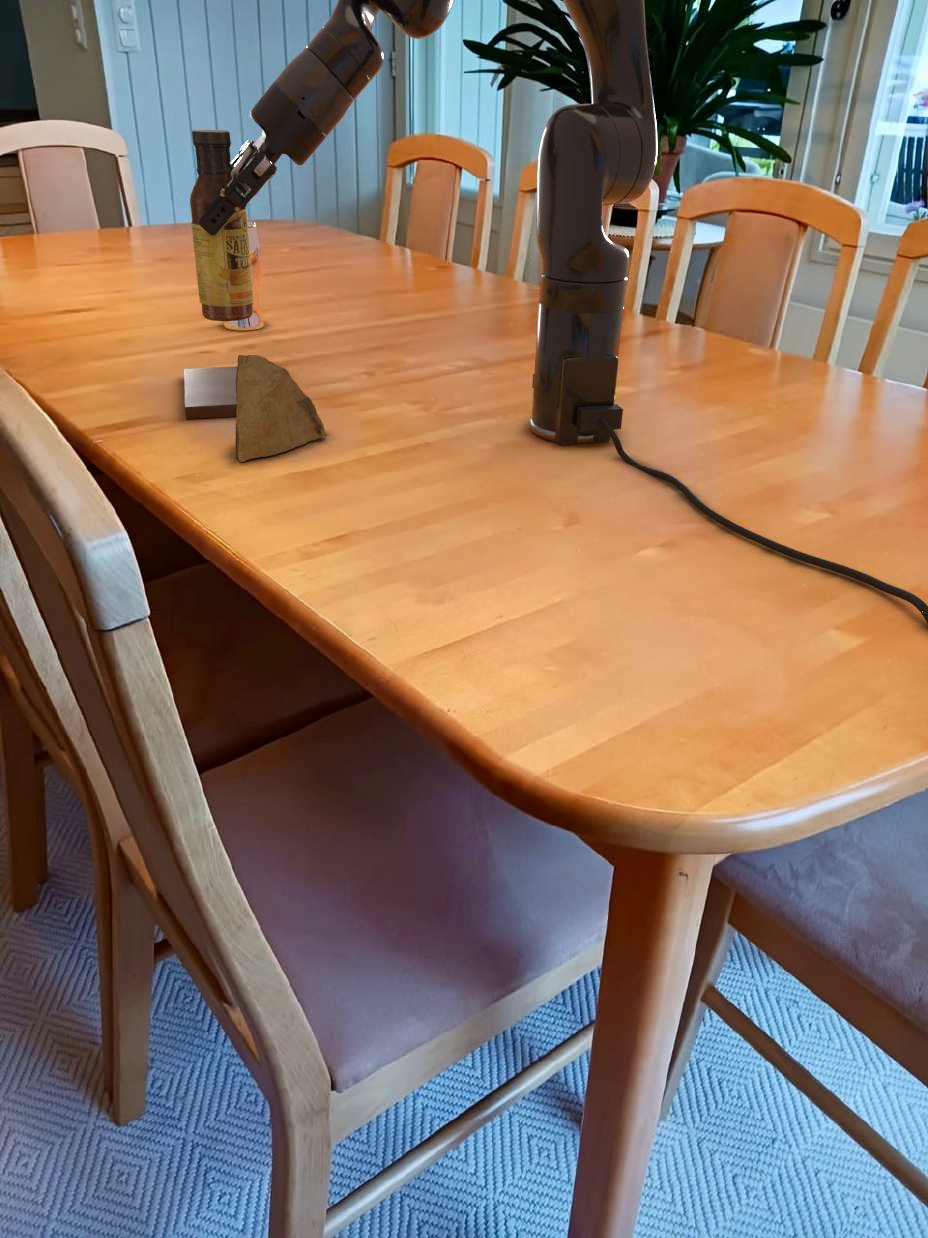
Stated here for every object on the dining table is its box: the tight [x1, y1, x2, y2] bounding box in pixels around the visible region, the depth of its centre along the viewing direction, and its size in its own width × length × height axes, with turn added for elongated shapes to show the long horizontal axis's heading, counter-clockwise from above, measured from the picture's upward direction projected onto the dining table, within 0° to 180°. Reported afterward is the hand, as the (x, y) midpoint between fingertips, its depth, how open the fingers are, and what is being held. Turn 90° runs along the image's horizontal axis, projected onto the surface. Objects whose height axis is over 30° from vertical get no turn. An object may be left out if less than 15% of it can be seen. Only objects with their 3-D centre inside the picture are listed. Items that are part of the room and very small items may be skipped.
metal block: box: [183, 366, 237, 420], centre depth 117 cm, size 16×12×2 cm
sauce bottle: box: [189, 129, 254, 322], centre depth 107 cm, size 7×6×20 cm
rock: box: [234, 354, 327, 463], centre depth 100 cm, size 11×9×10 cm
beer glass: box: [223, 220, 265, 332], centre depth 144 cm, size 7×7×15 cm
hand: (204, 224), depth 106 cm, fingers closed on sauce bottle, 6 cm apart
